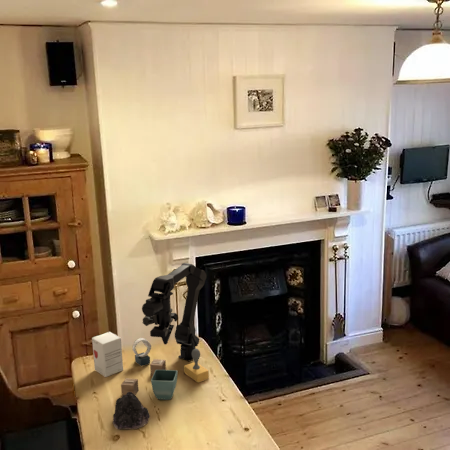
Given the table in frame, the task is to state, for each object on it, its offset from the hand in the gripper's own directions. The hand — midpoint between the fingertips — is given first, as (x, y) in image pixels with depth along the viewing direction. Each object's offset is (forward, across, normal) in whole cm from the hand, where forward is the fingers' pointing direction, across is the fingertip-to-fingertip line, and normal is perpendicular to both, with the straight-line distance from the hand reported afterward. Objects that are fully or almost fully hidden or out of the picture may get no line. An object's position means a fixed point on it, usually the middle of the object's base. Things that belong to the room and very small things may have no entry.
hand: (165, 344), depth 234 cm
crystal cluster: (+13, +36, -2) cm, 38 cm away
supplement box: (+13, +2, -25) cm, 28 cm away
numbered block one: (+13, +18, -9) cm, 24 cm away
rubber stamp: (+13, 0, +13) cm, 18 cm away
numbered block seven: (+13, 0, -4) cm, 14 cm away
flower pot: (+13, +18, +5) cm, 23 cm away
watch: (+13, -7, -13) cm, 20 cm away
